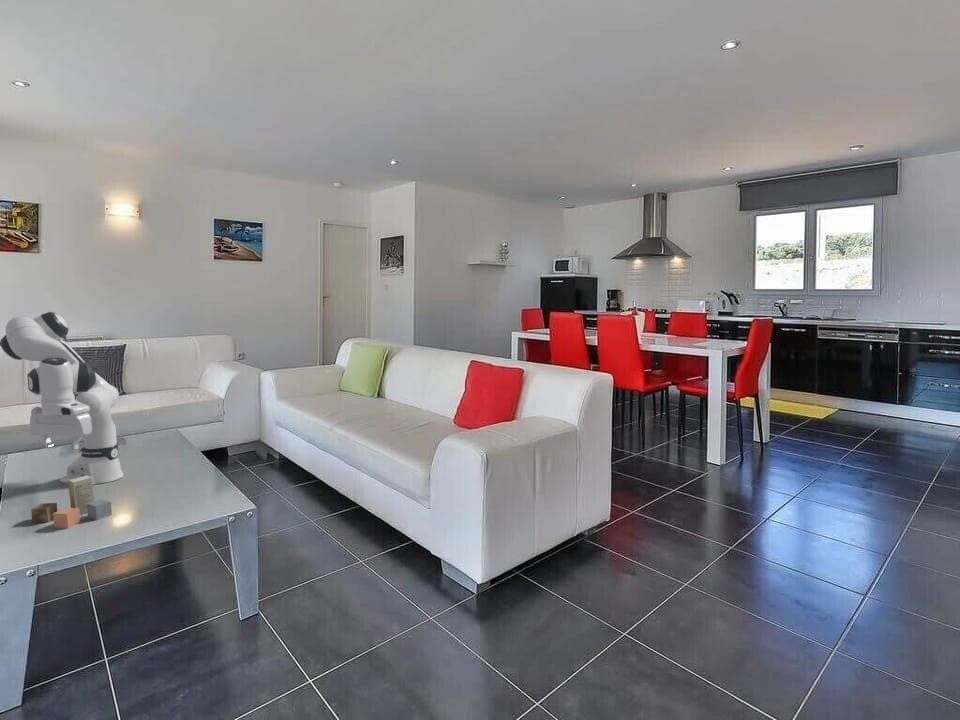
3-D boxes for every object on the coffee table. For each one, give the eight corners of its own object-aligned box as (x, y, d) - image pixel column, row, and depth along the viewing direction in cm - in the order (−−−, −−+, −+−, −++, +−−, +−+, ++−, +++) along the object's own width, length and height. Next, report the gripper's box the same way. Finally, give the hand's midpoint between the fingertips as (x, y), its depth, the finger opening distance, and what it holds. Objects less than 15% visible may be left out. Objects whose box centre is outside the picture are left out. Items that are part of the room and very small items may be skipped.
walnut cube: (32, 523, 186) (31, 508, 186) (42, 517, 191) (41, 503, 191) (48, 522, 187) (47, 508, 186) (57, 516, 192) (56, 502, 191)
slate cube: (87, 517, 191) (86, 503, 190) (102, 512, 196) (101, 499, 195) (97, 520, 189) (96, 506, 188) (111, 515, 194) (110, 501, 193)
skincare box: (90, 507, 200) (88, 474, 199) (96, 510, 198) (93, 477, 196) (70, 513, 195) (67, 479, 193) (75, 515, 192) (72, 482, 191)
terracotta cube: (54, 527, 183) (52, 513, 182) (66, 521, 188) (65, 507, 187) (68, 528, 182) (66, 514, 182) (80, 522, 187) (79, 508, 187)
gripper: (22, 408, 180) (26, 449, 181) (77, 410, 177) (81, 452, 178) (40, 404, 186) (43, 444, 187) (94, 406, 183) (97, 447, 184)
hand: (62, 448), depth 183 cm, fingers open, 8 cm apart
